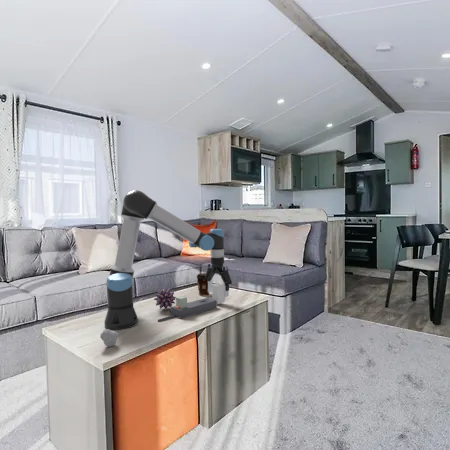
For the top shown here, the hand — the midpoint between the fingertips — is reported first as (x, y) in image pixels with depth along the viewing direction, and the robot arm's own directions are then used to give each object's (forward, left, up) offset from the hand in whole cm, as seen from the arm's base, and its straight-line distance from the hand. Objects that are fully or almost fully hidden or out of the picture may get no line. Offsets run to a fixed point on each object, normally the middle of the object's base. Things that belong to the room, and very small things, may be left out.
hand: (218, 294), depth 189 cm
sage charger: (-25, 0, -2) cm, 25 cm away
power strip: (-22, 0, -6) cm, 23 cm away
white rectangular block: (0, 0, -6) cm, 6 cm away
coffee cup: (+7, +22, -6) cm, 24 cm away
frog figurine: (-68, -11, -6) cm, 69 cm away
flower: (-26, +14, -6) cm, 30 cm away
